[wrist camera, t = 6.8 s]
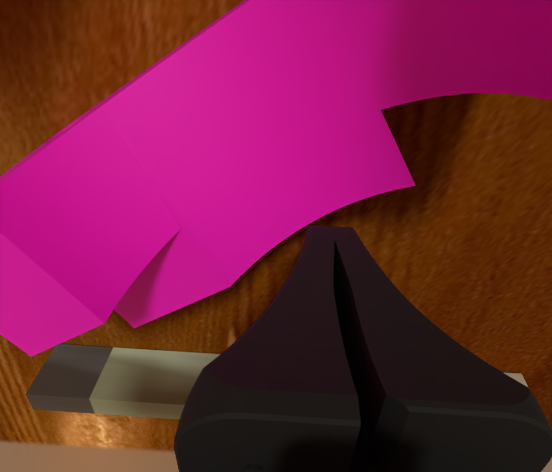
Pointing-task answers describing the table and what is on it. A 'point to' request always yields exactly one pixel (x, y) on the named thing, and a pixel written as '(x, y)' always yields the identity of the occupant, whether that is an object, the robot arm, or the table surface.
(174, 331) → the table surface
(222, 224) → the toy block
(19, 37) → the table surface
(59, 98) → the table surface
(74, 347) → the trap lane
